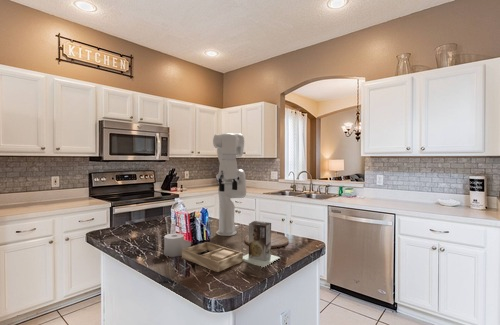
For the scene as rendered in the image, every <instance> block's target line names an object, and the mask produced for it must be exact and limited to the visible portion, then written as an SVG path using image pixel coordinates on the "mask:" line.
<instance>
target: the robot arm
mask: <svg viewBox="0 0 500 325" xmlns="http://www.w3.org/2000/svg"><path fill="white" fill-rule="evenodd" d="M244 137H245V136H244V135H243V134H242V133H239V132H237V133H235V132H226V133H215V134H214V135H213V139H212V145H213V147H214V149H217V150H216V153H217V154H216V155H217V158H218V162H219V166H218V173H217V174H216V175H215V177H216V181H217V183H218V184H219V185H218V187H217V191H218V192H217V193H218V200H219V202H218V205H219V206H218V207H219V208H218V210H219V211H218V230H216V232H215V234H216V235H218V236H221V237H230V236H235V235H236V234H237V230H236V229H239V228H240V225H239V224H235V204H234V202H233V201H232V199H244V198H245V197H246V196H247V181H246V173H245V171H244V170H243V169H239V168H238V162H237V158H241V157H242V156H243V155H244V148H245V138H244Z"/></svg>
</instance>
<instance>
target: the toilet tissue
mask: <svg viewBox="0 0 500 325" xmlns="http://www.w3.org/2000/svg"><path fill="white" fill-rule="evenodd" d="M184 237H185V235H184V234H183V233H177V232H175V233H168V234H165V235H164V244H163V255H164V256H166V257H168V256H169V257H171V258H174V257H175V258H176V257H182V249H185V248H188V247H192V241H191V240H186V239H185V238H184ZM169 257H168V258H169Z"/></svg>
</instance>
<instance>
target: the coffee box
mask: <svg viewBox="0 0 500 325" xmlns="http://www.w3.org/2000/svg"><path fill="white" fill-rule="evenodd" d="M271 233H272V223H271V222H267V221H259V220H253V221H252V222H250V223H248V235H249V245H248V254H249V258H253V259H259V260H264V261H266V260H268V259H269V258H270V257H271V255H272V249H271Z"/></svg>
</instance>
